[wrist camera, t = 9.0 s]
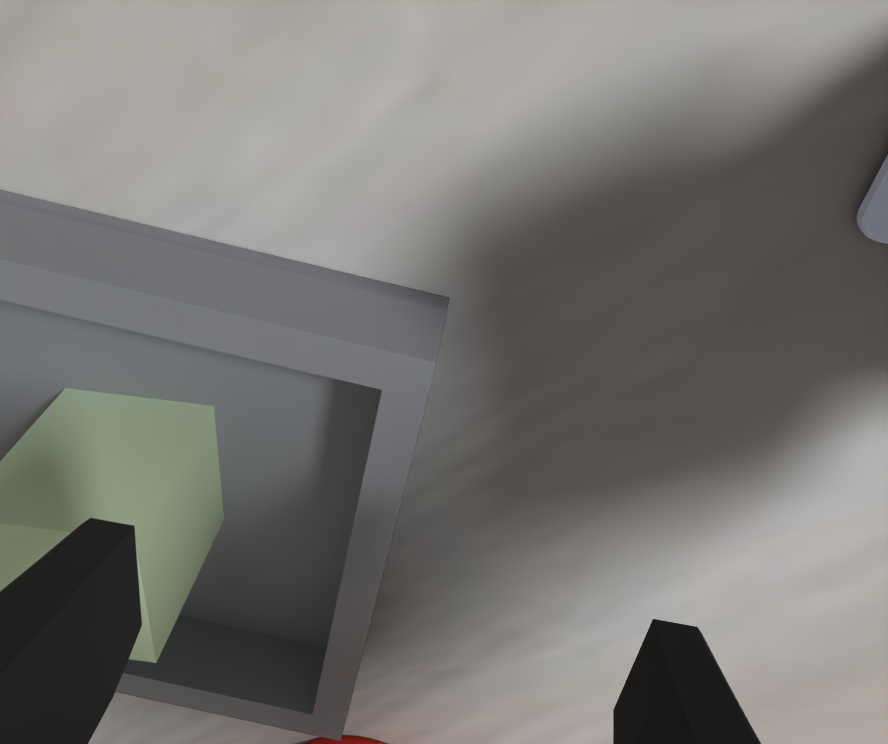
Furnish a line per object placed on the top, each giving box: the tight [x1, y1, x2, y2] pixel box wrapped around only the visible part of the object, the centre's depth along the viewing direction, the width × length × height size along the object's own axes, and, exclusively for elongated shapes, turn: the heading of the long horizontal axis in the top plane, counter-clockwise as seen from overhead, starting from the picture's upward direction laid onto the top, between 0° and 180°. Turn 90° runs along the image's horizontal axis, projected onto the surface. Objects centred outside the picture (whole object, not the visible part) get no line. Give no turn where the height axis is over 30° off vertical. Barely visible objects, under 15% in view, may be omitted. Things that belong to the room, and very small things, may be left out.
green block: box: [0, 388, 224, 663], centre depth 20 cm, size 4×4×5 cm
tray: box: [0, 190, 449, 741], centre depth 22 cm, size 14×14×3 cm
